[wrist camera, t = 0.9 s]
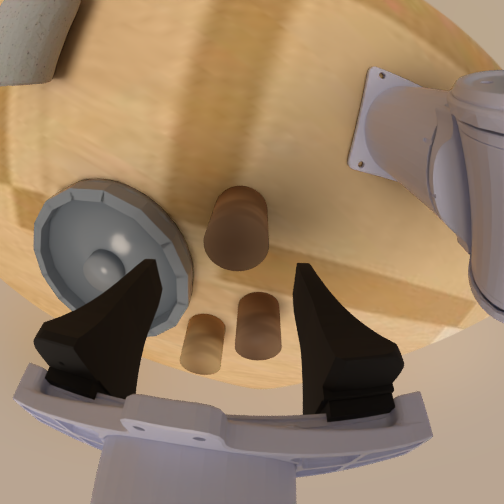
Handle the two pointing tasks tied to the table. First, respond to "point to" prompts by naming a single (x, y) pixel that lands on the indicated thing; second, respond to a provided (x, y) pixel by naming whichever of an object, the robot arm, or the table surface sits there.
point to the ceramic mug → (33, 38)
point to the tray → (110, 246)
